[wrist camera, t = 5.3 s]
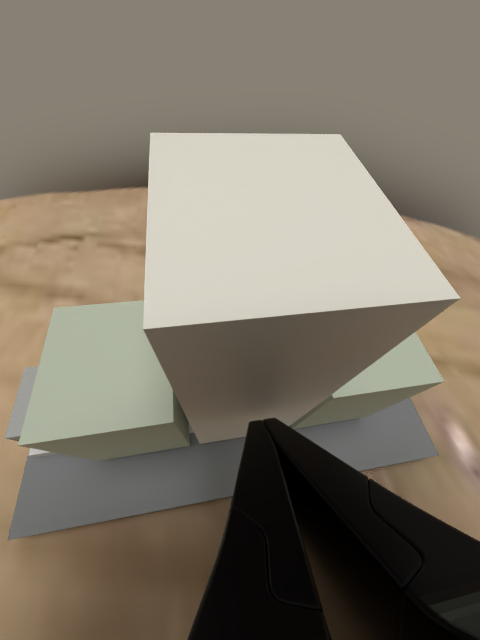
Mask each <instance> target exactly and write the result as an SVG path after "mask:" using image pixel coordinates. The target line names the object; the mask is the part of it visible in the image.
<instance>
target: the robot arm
mask: <svg viewBox="0 0 480 640" xmlns="http://www.w3.org/2000/svg"><path fill="white" fill-rule="evenodd" d="M187 640H480V541H478V540H476V539H474V538H472V537H470V536H469V535H467V534H465V533H463V532H461V531H459V530H458V529H456V528H454V527H452V526H450V525H448V524H447V523H445V522H443V521H441V520H439V519H437V518H436V517H434V516H432V515H430V514H428V513H427V512H425V511H423V510H421V509H420V508H418V507H416V506H414V505H413V504H411V503H409V502H407V501H406V500H404V499H402V498H401V497H399V496H397V495H396V494H394V493H393V492H391V491H389V490H388V489H386V488H384V487H383V486H381V485H380V484H378V483H377V482H375V481H374V480H372V479H369V480H368V477H367V476H366V475H364V474H362V473H361V472H359V471H358V470H356V469H355V468H353V467H352V466H350V465H348V464H347V463H345V462H344V461H342V460H341V459H339V458H337V457H336V456H334V455H333V454H331V453H330V452H328V451H327V450H325V449H323V448H322V447H320V446H319V445H317V444H316V443H314V442H313V441H311V440H309V439H308V438H306V437H305V436H303V435H302V434H300V433H299V432H297V431H295V430H294V429H292V428H291V427H289V426H288V425H286V424H284V423H283V422H281V421H280V420H278V419H277V418H268V419H264V420H263V421H262V420H255V421H250V422H249V424H248V429H247V433H246V438H245V442H244V447H243V451H242V456H241V460H240V465H239V470H238V474H237V479H236V483H235V488H234V492H233V497H232V501H231V507H230V510H229V514H228V519H227V523H226V527H225V531H224V534H223V538H222V542H221V546H220V549H219V552H218V555H217V558H216V561H215V564H214V567H213V570H212V573H211V576H210V579H209V581H208V584H207V587H206V590H205V592H204V595H203V598H202V601H201V603H200V606H199V609H198V612H197V614H196V617H195V620H194V623H193V626H192V628H191V631H190V634H189V637H188V639H187Z"/></svg>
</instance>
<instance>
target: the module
mask: <svg viewBox="0 0 480 640" xmlns="http://www.w3.org/2000/svg"><path fill="white" fill-rule="evenodd" d="M459 299H460V297H459V296H458V294H457V293H456V292H455V290H454V289H453V288H452V286H451V285H450V284H449V282H448V281H447V279H446V278H445V277H444V275H443V274H442V273H441V271H440V270H439V269H438V267H437V266H436V264H435V263H434V262H433V260H432V259H431V258H430V256H429V255H428V254H427V252H426V251H425V249H424V248H423V247H422V245H421V244H420V243H419V241H418V240H417V238H416V237H415V236H414V234H413V233H412V232H411V230H410V229H409V228H408V226H407V225H406V223H405V222H404V221H403V219H402V218H401V217H400V215H399V214H398V213H397V211H396V210H395V208H394V207H393V206H392V205H391V203H390V202H389V200H388V199H387V198H386V196H385V195H384V194H383V192H382V191H381V189H380V188H379V187H378V185H377V184H376V183H375V181H374V180H373V179H372V177H371V176H370V174H369V173H368V172H367V170H366V169H365V168H364V166H363V165H362V164H361V162H360V161H359V159H358V158H357V157H356V155H355V154H354V152H353V151H352V150H351V148H350V147H349V146H348V144H347V143H346V142H345V140H344V139H343V137H342V136H341V135H340V134H231V133H229V134H227V133H218V134H217V133H150V157H149V183H148V210H147V236H146V263H145V290H144V316H143V330H144V332H145V334H146V336H147V338H148V340H149V342H150V344H151V346H152V348H153V350H154V352H155V354H156V356H157V359H158V361H159V363H160V365H161V367H162V369H163V371H164V373H165V375H166V377H167V379H168V381H169V383H170V385H171V387H172V389H173V391H174V393H175V395H176V397H177V399H178V401H179V403H180V405H181V407H182V409H183V411H184V413H185V415H186V417H187V419H188V421H189V423H190V425H191V427H192V429H193V431H194V433H195V435H196V437H197V439H198V441H199V443H200V444H203V443H209V442H215V441H221V440H227V439H233V438H239V437H246V433H247V429H248V424H249V422H250V421H255V420H262V421H263V420H264V419H268V418H277V419H278V420H280V421H281V422H283V423H284V424H286V425H288V426H290V425H291V424H293V423H294V422H295V421H297V420H298V419H299V418H301V417H302V416H303V415H305V414H306V413H307V412H309V411H310V410H311V409H313V408H314V407H315V406H317V405H318V404H319V403H321V402H322V401H323V400H325V399H326V398H328V397H329V396H330V395H332V394H333V393H334V392H336V391H337V390H338V389H340V388H341V387H342V386H344V385H345V384H346V383H348V382H349V381H350V380H352V379H353V378H354V377H356V376H357V375H358V374H360V373H361V372H362V371H364V370H365V369H366V368H368V367H369V366H370V365H372V364H373V363H374V362H376V361H377V360H378V359H380V358H381V357H382V356H384V355H385V354H386V353H388V352H389V351H390V350H392V349H393V348H394V347H396V346H397V345H398V344H400V343H401V342H402V341H404V340H405V339H406V338H408V337H409V336H410V335H412V334H413V333H414V332H416V331H417V330H418V329H420V328H421V327H422V326H424V325H425V324H426V323H428V322H429V321H431V320H432V319H433V318H435V317H436V316H437V315H439V314H440V313H441V312H443V311H444V310H445V309H447V308H448V307H449V306H451V305H452V304H453V303H455V302H456V301H457V300H459Z"/></svg>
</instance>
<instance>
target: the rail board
mask: <svg viewBox="0 0 480 640" xmlns="http://www.w3.org/2000/svg"><path fill="white" fill-rule="evenodd" d="M143 316H144V300H143V301H131V302H119V303H107V304H95V305H82V306H70V307H58V308H54V310H53V314H52V318H51V322H50V325H49V329H48V333H47V337H46V341H45V344H44V348H43V352H42V356H41V360H40V363H39V366H38V367H29V368H25V370H24V373H23V376H22V380H21V383H20V387H19V390H18V394H17V397H16V400H15V404H14V407H13V411H12V414H11V418H10V421H9V424H8V428H7V431H6V435H5V438H6V439H10V440H15V441H19V443H18V446H23V447H28V448H30V449H29V453H28V457H27V462H26V466H25V470H24V474H23V478H22V482H21V487H20V491H19V495H18V499H17V503H16V507H15V512H14V516H13V520H12V524H11V528H10V532H9V537H8V540H12V539H17V538H22V537H27V536H32V535H37V534H42V533H47V532H52V531H57V530H62V529H68V528H73V527H78V526H83V525H88V524H93V523H98V522H103V521H108V520H113V519H118V518H123V517H128V516H134V515H139V514H144V513H149V512H154V511H159V510H164V509H169V508H174V507H179V506H184V505H189V504H195V503H200V502H205V501H210V500H215V499H220V498H225V497H230V496H233V492H234V488H235V483H236V479H237V474H238V470H239V465H240V460H241V456H242V451H243V447H244V442H245V438H246V437H239V438H233V439H227V440H221V441H215V442H209V443H203V444H200V443H199V441H198V439H197V437H196V435H195V433H194V431H193V429H192V427H191V425H190V423H189V421H188V419H187V417H186V415H185V413H184V411H183V409H182V407H181V405H180V403H179V401H178V399H177V397H176V395H175V393H174V391H173V389H172V387H171V385H170V383H169V381H168V379H167V377H166V375H165V373H164V371H163V369H162V367H161V365H160V363H159V361H158V359H157V356H156V354H155V352H154V350H153V348H152V346H151V344H150V342H149V340H148V338H147V336H146V334H145V332H144V330H143ZM442 382H444V380H443V378H442V376H441V375H440V373H439V371H438V369H437V368H436V366H435V364H434V363H433V361H432V359H431V358H430V356H429V354H428V353H427V351H426V349H425V348H424V346H423V344H422V342H421V341H420V339H419V337H418V336H417V334H416V332H414V333H413V334H412V335H410V336H409V337H408V338H406V339H405V340H404V341H402V342H401V343H400V344H398V345H397V346H396V347H394V348H393V349H392V350H390V351H389V352H388V353H386V354H385V355H384V356H382V357H381V358H380V359H378V360H377V361H376V362H374V363H373V364H372V365H370V366H369V367H368V368H366V369H365V370H364V371H362V372H361V373H360V374H358V375H357V376H356V377H354V378H353V379H352V380H350V381H349V382H348V383H346V384H345V385H344V386H342V387H341V388H340V389H338V390H337V391H336V392H334V393H333V394H332V395H330V396H329V397H328V398H326V399H325V400H323V401H322V402H321V403H319V404H318V405H317V406H315V407H314V408H313V409H311V410H310V411H309V412H307V413H306V414H305V415H303V416H302V417H301V418H299V419H298V420H297V421H295V422H294V423H293V424H291V425H290V426H289V427H291V428H292V429H294V430H295V431H297V432H299V433H300V434H302V435H303V436H305V437H306V438H308V439H309V440H311V441H313V442H314V443H316V444H317V445H319V446H320V447H322V448H323V449H325V450H327V451H328V452H330V453H331V454H333V455H334V456H336V457H337V458H339V459H341V460H342V461H344V462H345V463H347V464H348V465H350V466H352V467H353V468H355V469H356V470H358V471H362V470H367V469H372V468H377V467H383V466H388V465H393V464H398V463H403V462H408V461H413V460H418V459H423V458H428V457H433V456H438V455H439V454H438V452H437V450H436V448H435V446H434V444H433V442H432V440H431V438H430V436H429V434H428V432H427V430H426V428H425V426H424V424H423V422H422V420H421V418H420V416H419V414H418V412H417V410H416V408H415V406H414V404H413V402H412V400H411V398H410V397H412V396H414V395H416V394H418V393H420V392H423V391H425V390H427V389H429V388H431V387H434V386H436V385H438V384H440V383H442Z"/></svg>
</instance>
